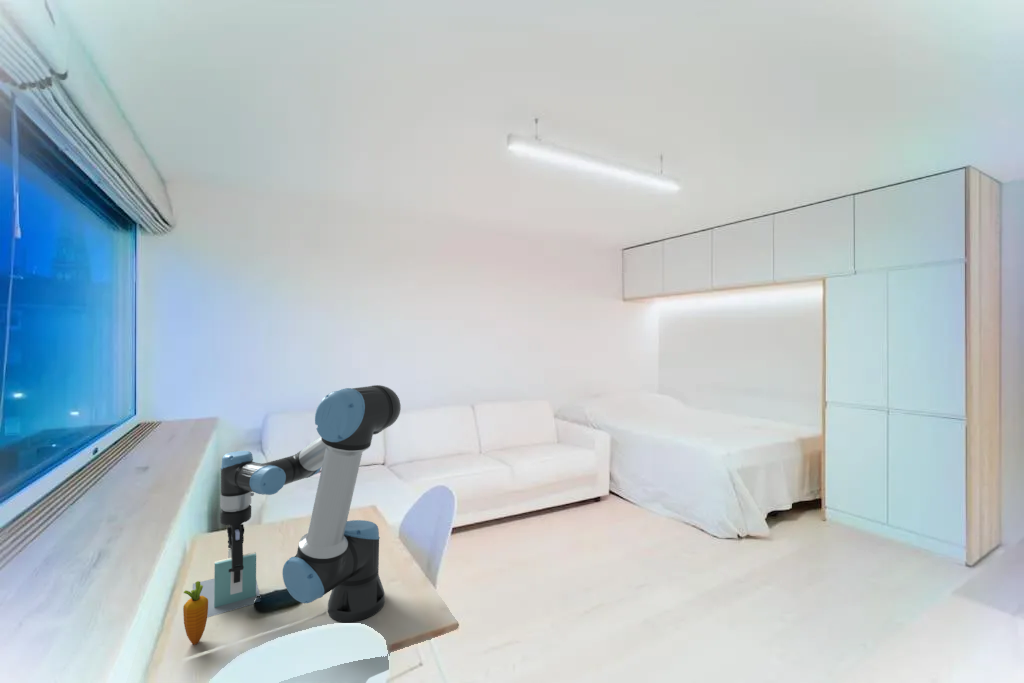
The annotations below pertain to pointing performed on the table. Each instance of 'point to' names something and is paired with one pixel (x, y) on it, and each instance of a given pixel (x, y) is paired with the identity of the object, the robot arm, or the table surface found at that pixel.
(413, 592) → the table surface
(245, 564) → the board
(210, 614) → the mat
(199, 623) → the carrot
